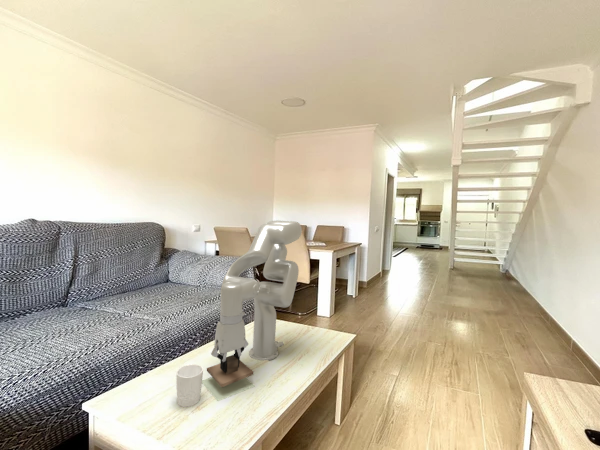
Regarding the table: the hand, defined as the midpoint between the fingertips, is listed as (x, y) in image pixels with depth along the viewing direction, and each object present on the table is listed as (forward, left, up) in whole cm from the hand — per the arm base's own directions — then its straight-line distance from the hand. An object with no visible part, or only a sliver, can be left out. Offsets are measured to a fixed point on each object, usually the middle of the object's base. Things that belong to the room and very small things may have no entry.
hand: (230, 367), depth 102 cm
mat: (+1, 0, -6) cm, 6 cm away
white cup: (+15, +1, -6) cm, 16 cm away
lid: (0, 0, -2) cm, 2 cm away
